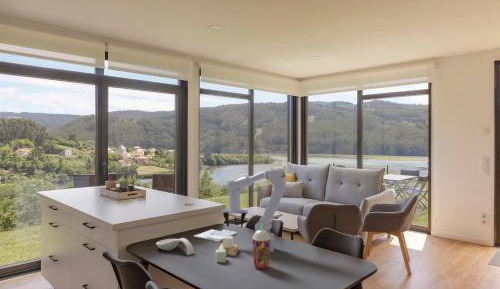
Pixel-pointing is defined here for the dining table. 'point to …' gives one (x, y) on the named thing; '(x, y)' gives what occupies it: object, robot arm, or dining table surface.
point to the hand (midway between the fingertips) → (234, 226)
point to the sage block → (220, 255)
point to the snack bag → (215, 234)
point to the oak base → (230, 250)
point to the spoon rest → (175, 244)
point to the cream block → (228, 242)
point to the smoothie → (261, 249)
